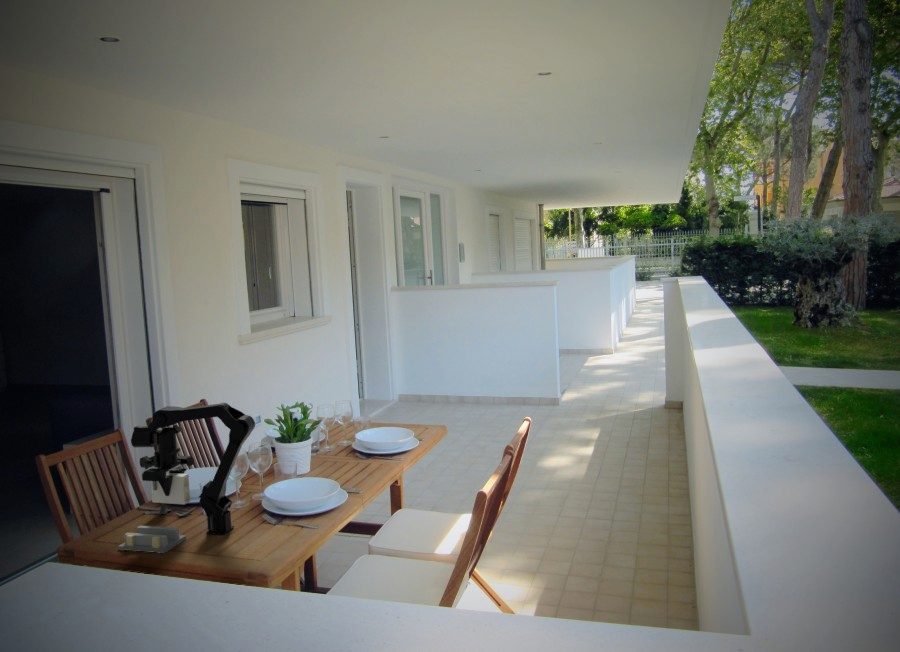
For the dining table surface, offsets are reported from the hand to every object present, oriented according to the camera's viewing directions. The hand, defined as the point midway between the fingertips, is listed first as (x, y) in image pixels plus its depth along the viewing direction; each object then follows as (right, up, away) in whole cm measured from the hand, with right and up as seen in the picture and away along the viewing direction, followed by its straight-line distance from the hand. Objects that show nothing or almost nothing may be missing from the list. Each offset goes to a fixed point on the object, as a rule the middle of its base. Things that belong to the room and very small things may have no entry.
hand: (170, 494), depth 224 cm
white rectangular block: (0, -3, 0) cm, 2 cm away
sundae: (-10, -11, +20) cm, 25 cm away
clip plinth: (-2, -14, -9) cm, 16 cm away
